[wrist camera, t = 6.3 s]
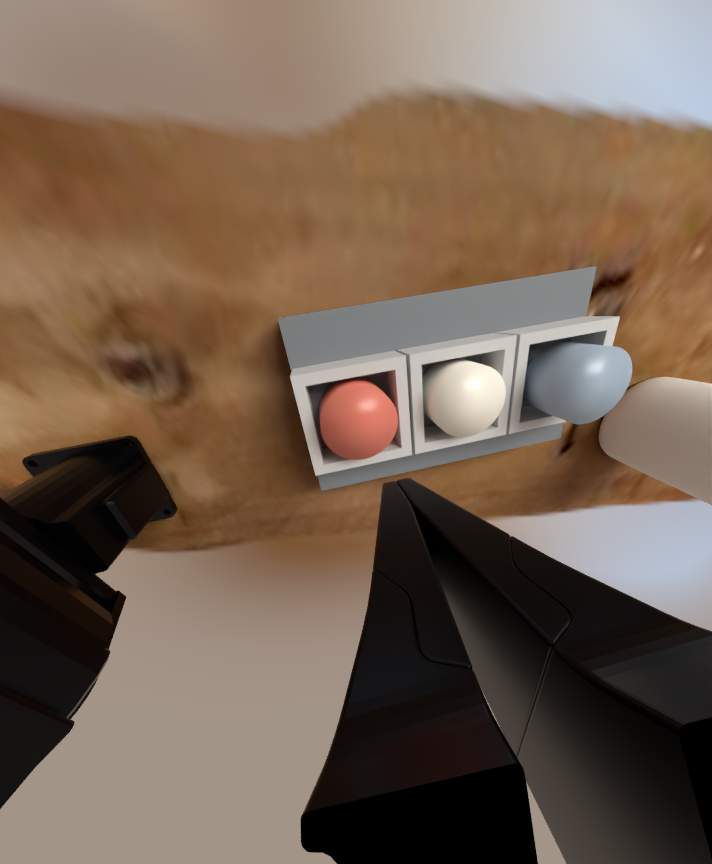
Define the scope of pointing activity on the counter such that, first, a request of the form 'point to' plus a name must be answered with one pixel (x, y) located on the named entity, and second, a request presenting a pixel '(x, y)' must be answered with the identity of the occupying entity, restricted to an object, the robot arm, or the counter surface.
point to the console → (432, 342)
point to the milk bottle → (664, 433)
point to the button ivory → (462, 396)
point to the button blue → (577, 380)
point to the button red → (357, 418)
